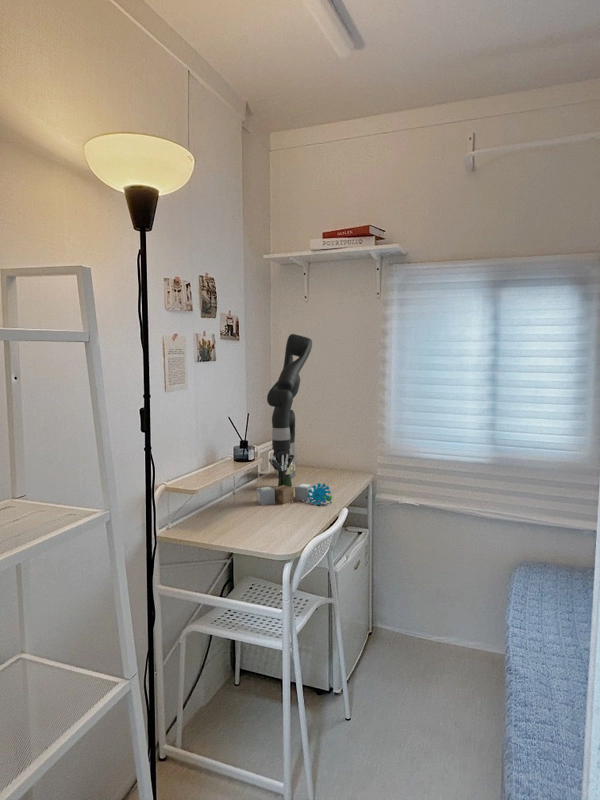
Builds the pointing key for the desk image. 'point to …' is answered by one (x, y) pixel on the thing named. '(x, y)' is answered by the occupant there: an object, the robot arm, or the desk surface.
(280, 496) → the walnut block
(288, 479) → the character mug
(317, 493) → the gear
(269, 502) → the grey block front
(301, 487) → the grey block back
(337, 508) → the desk surface
